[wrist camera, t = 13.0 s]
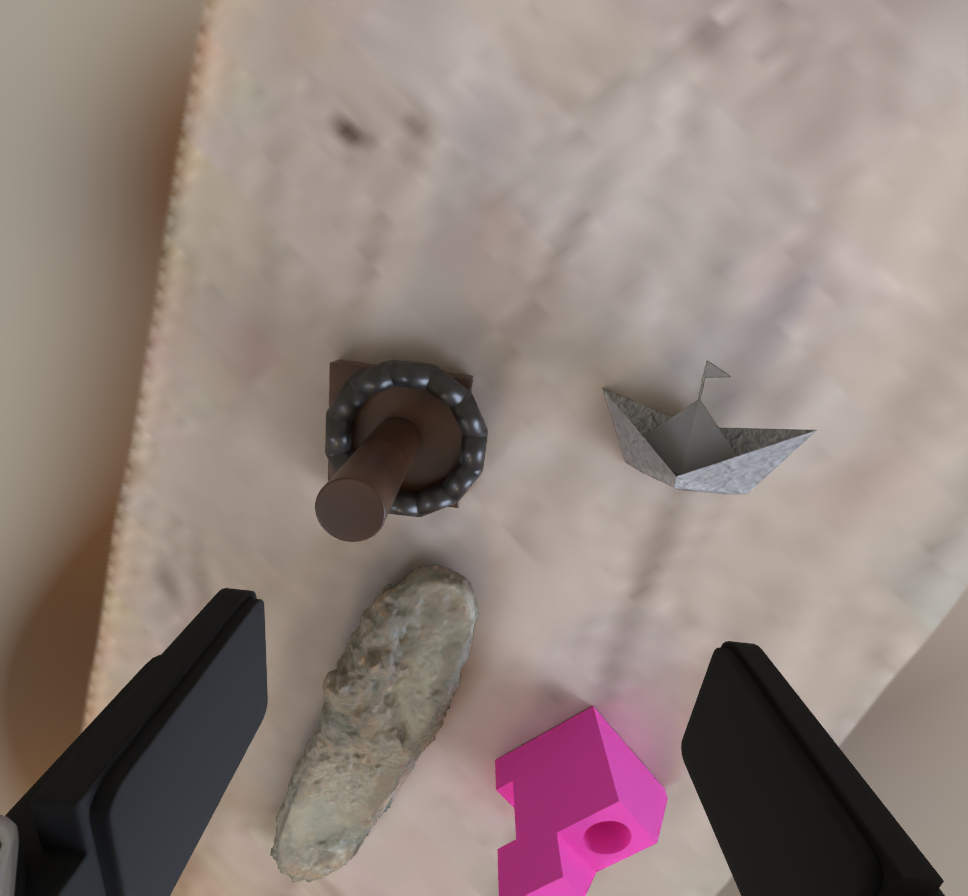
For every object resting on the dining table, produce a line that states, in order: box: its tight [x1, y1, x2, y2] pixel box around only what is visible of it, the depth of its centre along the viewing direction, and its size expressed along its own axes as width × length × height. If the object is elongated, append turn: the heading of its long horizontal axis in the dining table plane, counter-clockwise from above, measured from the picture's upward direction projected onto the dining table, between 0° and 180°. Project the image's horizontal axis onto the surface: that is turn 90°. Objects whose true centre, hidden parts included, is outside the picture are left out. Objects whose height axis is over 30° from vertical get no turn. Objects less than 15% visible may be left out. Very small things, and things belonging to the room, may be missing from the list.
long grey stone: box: [271, 565, 478, 882], centre depth 37 cm, size 35×5×10 cm
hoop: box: [325, 359, 488, 517], centre depth 29 cm, size 10×10×2 cm
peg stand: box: [315, 360, 473, 542], centre depth 25 cm, size 9×9×12 cm
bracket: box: [495, 706, 668, 896], centre depth 36 cm, size 12×10×10 cm
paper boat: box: [603, 361, 817, 494], centre depth 28 cm, size 12×6×9 cm
